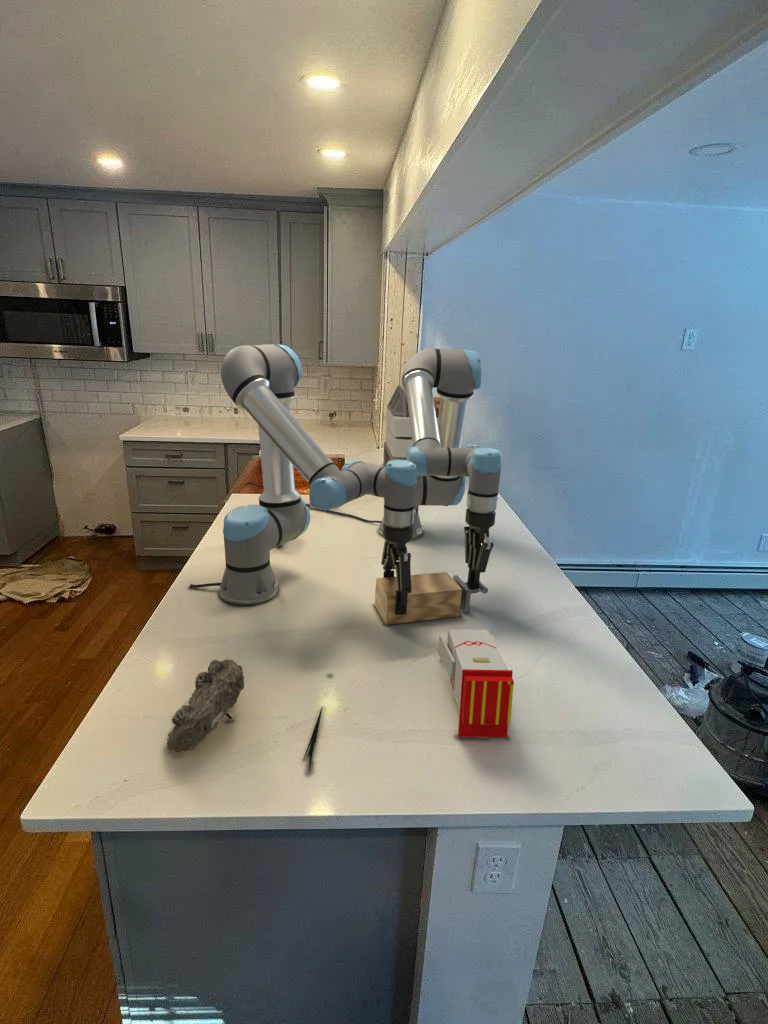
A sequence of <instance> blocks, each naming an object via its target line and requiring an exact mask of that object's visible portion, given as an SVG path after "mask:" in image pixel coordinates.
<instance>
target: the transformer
mask: <svg viewBox="0 0 768 1024" xmlns="http://www.w3.org/2000/svg"><path fill="white" fill-rule="evenodd" d="M440 399H441V397H440V396H433V400H434V406H435V413H436V419H437V424H438V416H439V408H440ZM385 414H386V415H385V423H386V428H385V438H384V442H383V467H386V464H387V462H389V461H391V460H406V455H407V450H408V448H409V447H413V445H412V437H411V428H410V419H409V411H408V402H407V394H406V393H405V392H404V390H403V388H402V385H399V384H398V385H397V386H396V388H395V390H394V392H393V394H392V395H391V398H390V400H389V402H388V404H387V405H386V413H385ZM464 429H465V427H464V428H463V433H464V431H465V430H464ZM463 438H464V434H463V435H462V439H463ZM463 442H464V441H463V440H462V442H461V448H463Z"/></svg>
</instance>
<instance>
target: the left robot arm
mask: <svg viewBox="0 0 768 1024" xmlns="http://www.w3.org/2000/svg"><path fill="white" fill-rule="evenodd" d="M302 376H303V367H302V363H301V360H300V357H298V355H297V354H296V353H295V351H294V350H293V349H292V348H290V347H288V346H287V345H284V344H276V343H270V344H269V343H267V344H254V345H253V344H251V345H250V344H249V345H248V344H247V345H239V346H236V347H234V348H232V349H230V350H229V352H227V353H226V355H225V356H224V357H223V360H222V362H221V366H220V379H221V384H222V386H223V388H224V390H225V392H226V393H227V396H228V397H229V398H230V400H231V401H232V403H234V404H235V406H236V407H237V408H238V409H243V410H245V411H246V412H247V413H248V414H249V415H250V417H251V418H252V419H253V420H254V421H255V423H257V425H258V436H259V437H258V438H259V447H260V448H259V451H260V462H261V463H260V464H261V474H262V486H263V488H262V489H263V491H262V493H261V494H260V495H259V496H258V504H259V505H258V504H247V505H241V506H240V505H239V506H238V507H235V508H233V509H231V510H229V511H228V512H227V513H226V514H225V515H224V518H223V527H222V534H223V546H224V558H225V560H224V562H225V568H224V572H223V576H222V579H221V582H209V583H208V582H207V583H201V584H192V583H190V584H189V588H193V589H194V588H195V589H196V588H197V589H199V588H207V587H219V594H220V595H219V596H220V597H221V599H222V600H223V601H224V602H227V603H230V604H233V605H239V606H249V605H250V606H252V605H253V606H254V605H258V604H262V603H265V602H267V601H270V600H271V599H273V598H274V597H275V596H276V595H277V593H278V584H279V580H278V579H276V576H275V573H274V571H273V569H272V566H271V550H273V549H275V548H277V547H281V546H282V545H284V544H286V543H288V542H290V541H294V540H296V539H298V538H299V537H300V536H302V535H304V533H305V532H306V531H307V530H308V529H309V526H310V522H311V511H310V507H309V506H306V505H305V504H307V503H306V501H305V500H304V499H303V498H302V494H301V493H300V492H299V491H298V490H296V485H295V484H296V483H295V472H294V471H295V470H294V468H295V469H296V471H297V472H298V473H299V474H300V475H301V476H302V478H304V480H305V481H306V482H307V483H308V485H309V484H310V486H309V489H308V496H309V495H310V497H311V501H312V503H313V504H314V505H315V506H316V507H317V508H319V509H321V510H320V511H323V510H331V511H332V510H334V509H338V508H340V507H343V506H344V505H346V504H348V503H350V502H352V501H355V500H357V499H359V498H363V497H364V496H366V495H369V496H374V497H377V498H383V512H382V513H383V515H382V519H383V522H384V524H383V535H382V538H383V540H384V543H383V550H382V556H381V561H380V564H381V565H382V570H383V577H382V578H385V577H397V586H398V590H396V591H395V592H396V607H395V614H396V615H402V614H406V611H407V595H408V593H411V591H412V590H411V575H412V571H411V569H412V568H411V558H412V554H411V552H408V547H407V543H409V542H410V541H412V540H413V539H412V538H413V528H414V526H413V523H414V514H415V513H416V510H415V494H416V484H417V468H416V465H415V464H414V463H413V462H410V461H406V460H391V461H389V462H387V464H386V466H384V465H383V466H382V465H377V464H373V463H369V462H365V461H361V460H349V461H346V463H344V465H343V466H342V468H341V469H340V468H339V467H338V466H337V465H336V464H335V463H334V462H333V461H332V460H331V458H330V457H329V456H328V455H327V454H326V452H324V450H323V449H322V448H321V446H319V445H318V443H317V442H316V441H315V440H314V439H313V438H312V436H311V435H310V434H309V433H308V432H307V431H306V429H305V428H304V427H303V426H302V425H301V424H300V423H299V421H298V419H296V418H295V416H294V415H293V414H292V413H291V408H290V407H291V405H290V403H291V402H292V401H293V400H294V399H295V395H296V394H295V388H296V387H297V386H298V385H299V383H300V381H301V380H302ZM319 509H318V510H319ZM280 545H281V546H280ZM395 575H396V576H395Z"/></svg>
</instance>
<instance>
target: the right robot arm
mask: <svg viewBox="0 0 768 1024" xmlns="http://www.w3.org/2000/svg"><path fill="white" fill-rule="evenodd" d="M482 381H483V368H482V361H481V358H480V355H479V353H478V352H477V351H475V350H471V349H465V348H462V349H461V348H436V347H435V348H434V347H433V348H432V347H428V348H425V349H421V350H419V351H418V352H416V353H415V354H413V355H412V356H411V357H410V359H408V361H407V362H406V364H405V365H404V367H403V369H402V373H401V387H402V388H403V390H404V392H405V393H406V394H407V402H408V411H409V419H410V428H411V437H412V445H413V447H409V448H408V450H407V455H406V461H410V462H413V463H414V464H415V465H416V468H417V484H416V494H415V510H416V513H415V514H414V523H413V526H414V528H413V538H412V540H415V539H418V538H420V537H421V536H422V535H423V525H422V524H421V518H420V515H419V507H420V506H442V507H443V506H444V507H450V506H457V505H459V504H460V503H461V502H462V500H463V497H464V495H465V490H466V477H468V489H467V497H466V509H465V518H464V521H465V523H466V524H467V526H464V527H463V531H464V562H465V564H467V568H468V572H467V581H466V582H467V587H468V588H469V589H470V590H472V589H479V580H480V581H481V573H486V571H487V567H488V563H489V559H490V555H491V552H492V550H493V548H494V545H495V544H494V542H492V541H491V542H490V539H489V538H490V529H491V528H492V527H494V526H495V524H496V513H497V512H496V510H497V504H498V499H499V496H498V495H499V490H500V481H501V473H502V468H503V453H502V452H501V451H500V450H499V449H496V448H494V447H493V448H491V447H480V446H478V445H475V444H468V445H466V446H464V447H462V448H461V442H462V441H463V438H462V435H463V436H464V432H463V428H464V429H465V421H466V414H467V407H468V402H469V401H468V400H470V399H471V398H473V397H474V392H475V391H476V390H479V389H480V388H481V386H482ZM433 388H435V389H436V393H437V395H438V397H441V399H440V408H439V416H438V424H437V419H436V413H435V406H434V400H433V397H434V394H433ZM247 485H253V486H256V487H259V488H262V489H264V488H263V485H260V484H258V483H255V482H251V481H248V482H246V483H245V484H244V486H247ZM305 505H306V506H308V508H310V505H309V504H308V503H306V504H305ZM316 510H320V511H324V512H327V513H333V514H336V515H341V516H346V517H350V518H354V519H357V520H359V521H362V522H366V523H376V524H379V525H378V533H379V534H380V535H381V536H383V524H384V522H383V518H382V519H381V520H369V519H365V518H362V517H359V516H356V515H353V514H350V513H345V512H340V511H335V510H332V509H331V510H321V509H319V508H317V509H316ZM477 593H479V592H472V593H471V594H477Z"/></svg>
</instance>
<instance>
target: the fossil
mask: <svg viewBox="0 0 768 1024" xmlns="http://www.w3.org/2000/svg"><path fill="white" fill-rule="evenodd" d="M243 670H244V669H243V667H242V665H240V664H237V662H236V661H235V660H234V659H232V658H231V659H227V658H226V659H224V660H223V661H222V660H217V659H212V660H211V661H210V663H209V665H208V666H207V671H201V672H199V673H198V674H197V675H196V676H195V680H194V684H195V685H194V687H195V689H194V690H193V693H192V694H191V697H190V698H189V700H188V704H184V705H182V706H181V707H180V709H177V710H176V711H175V713H174V715H173V716H172V718H171V723H172V724H173V727H172V730H171V731H170V732H168V734H167V738H166V741H167V742H166V745H167V749H168V750H169V751H173V752H174V753H176V754H178V753H182V752H188V751H189V752H192V751H193V750H195V748H196V747H197V746H199V744H200V743H201V742H203V741H204V740H205V739H206V738H207V737H208V736H209V735H210V734H211V733H212V732H214V730H215V729H217V727H218V726H219V724H220V722H221V721H222V720H223V719H224V718H225V716H226V717H227V719H229V720H233V717H232V715H230V714H229V710H230V709H231V708H234V706H235V704H236V703H237V702H238V699H239V697H240V695H241V693H242V691H243V690H245V689H244V688H245V675H244V671H243Z"/></svg>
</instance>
